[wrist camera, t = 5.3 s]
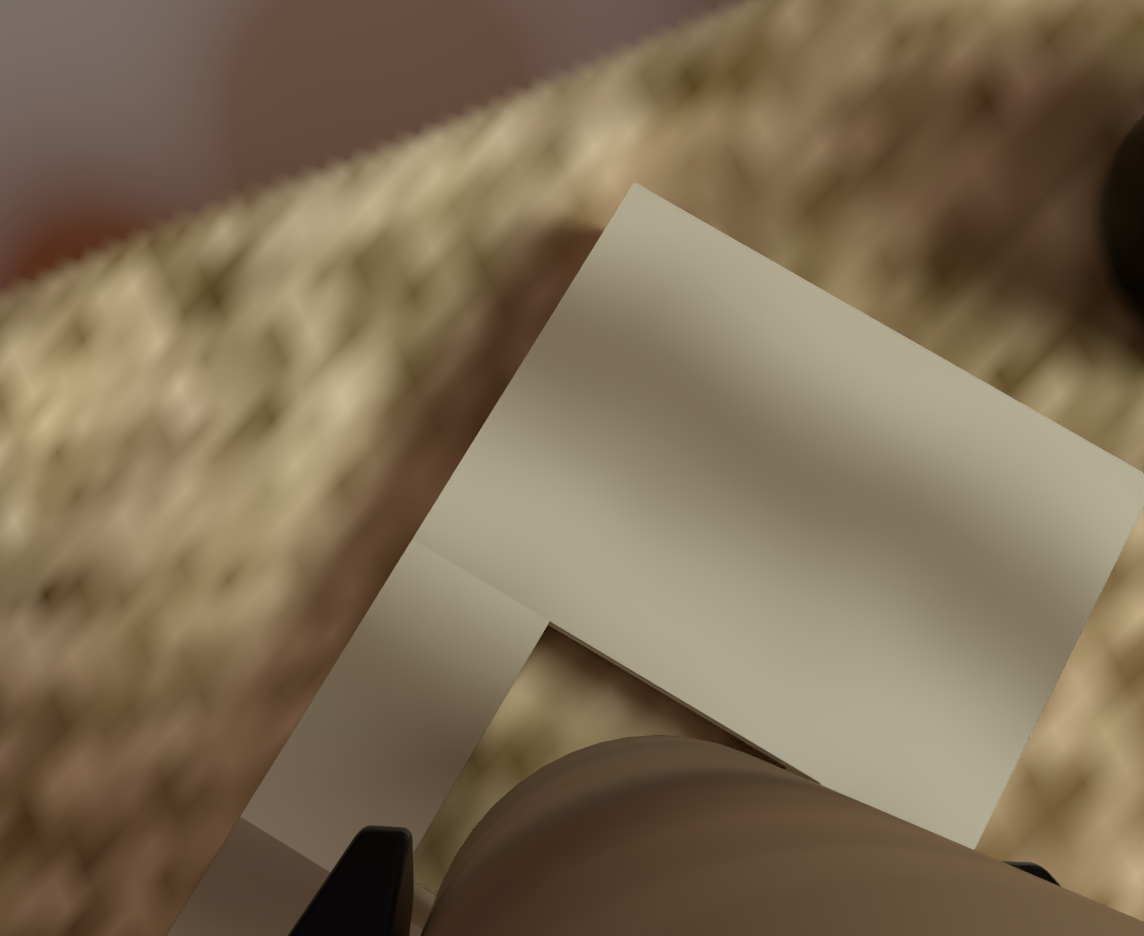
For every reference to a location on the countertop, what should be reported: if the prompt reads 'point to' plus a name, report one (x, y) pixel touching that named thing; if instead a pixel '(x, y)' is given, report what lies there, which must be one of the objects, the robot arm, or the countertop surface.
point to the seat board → (710, 562)
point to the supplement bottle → (1126, 217)
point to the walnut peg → (728, 859)
